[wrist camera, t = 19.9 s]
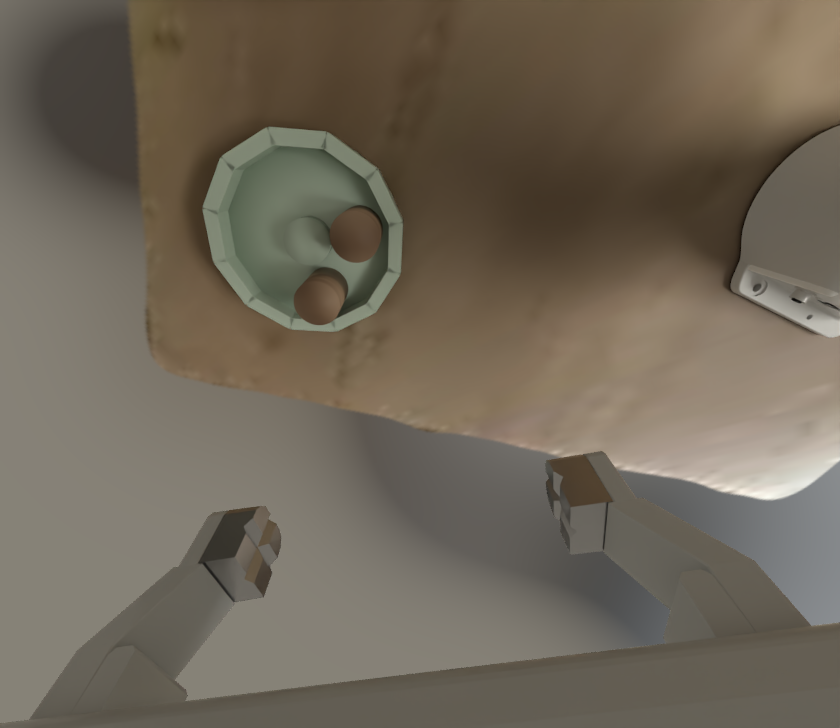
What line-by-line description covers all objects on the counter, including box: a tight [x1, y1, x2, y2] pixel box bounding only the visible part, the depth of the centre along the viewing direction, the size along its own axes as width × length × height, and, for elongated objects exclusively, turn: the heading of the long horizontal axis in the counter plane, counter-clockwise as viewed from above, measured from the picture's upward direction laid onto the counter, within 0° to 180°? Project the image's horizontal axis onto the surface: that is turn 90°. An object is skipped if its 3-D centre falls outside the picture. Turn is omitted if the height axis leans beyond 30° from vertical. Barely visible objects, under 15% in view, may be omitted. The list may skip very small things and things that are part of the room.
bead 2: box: [330, 205, 383, 263], centre depth 31 cm, size 4×4×5 cm
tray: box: [202, 127, 403, 332], centre depth 33 cm, size 17×17×3 cm
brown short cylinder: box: [294, 267, 348, 325], centre depth 34 cm, size 4×4×5 cm
